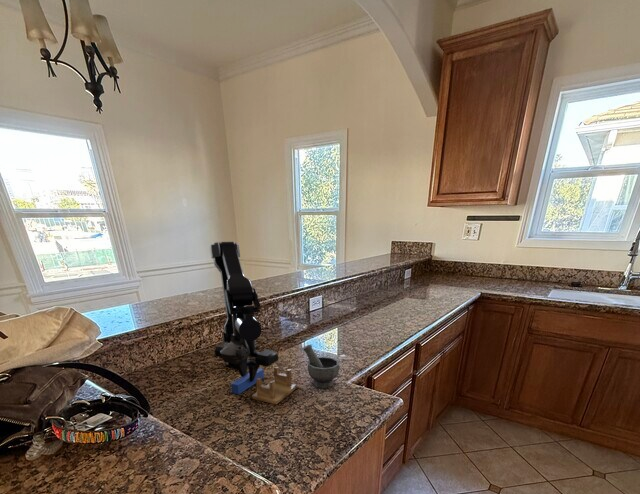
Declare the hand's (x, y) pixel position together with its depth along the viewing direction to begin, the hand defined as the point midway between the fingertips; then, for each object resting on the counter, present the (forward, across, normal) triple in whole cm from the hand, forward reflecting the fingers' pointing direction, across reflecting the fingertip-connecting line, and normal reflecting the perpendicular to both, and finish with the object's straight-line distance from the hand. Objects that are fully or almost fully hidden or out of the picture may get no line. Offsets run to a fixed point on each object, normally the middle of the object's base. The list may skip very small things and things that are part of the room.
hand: (248, 380), depth 106 cm
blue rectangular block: (+2, 0, 0) cm, 2 cm away
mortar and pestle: (+2, +19, +11) cm, 22 cm away
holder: (+2, +10, -1) cm, 10 cm away
